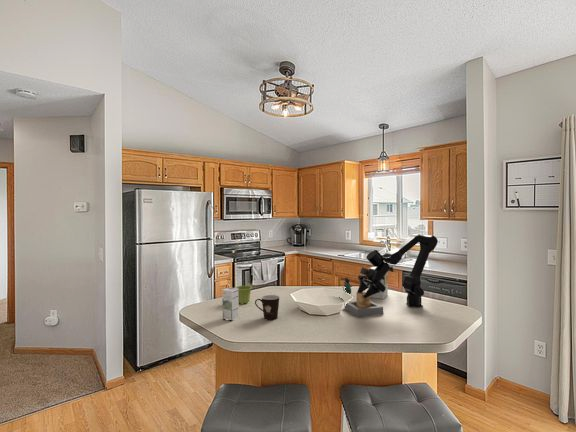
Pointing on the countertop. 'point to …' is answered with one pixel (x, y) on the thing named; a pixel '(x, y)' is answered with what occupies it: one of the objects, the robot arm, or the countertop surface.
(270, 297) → the coffee mug
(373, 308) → the collar
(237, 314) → the syrup box
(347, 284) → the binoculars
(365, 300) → the oak block
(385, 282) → the supplement box
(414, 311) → the countertop surface
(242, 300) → the plant pot
